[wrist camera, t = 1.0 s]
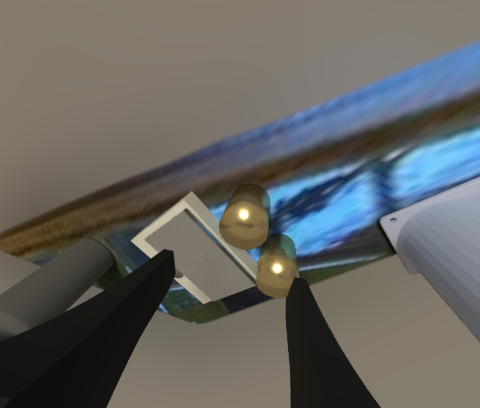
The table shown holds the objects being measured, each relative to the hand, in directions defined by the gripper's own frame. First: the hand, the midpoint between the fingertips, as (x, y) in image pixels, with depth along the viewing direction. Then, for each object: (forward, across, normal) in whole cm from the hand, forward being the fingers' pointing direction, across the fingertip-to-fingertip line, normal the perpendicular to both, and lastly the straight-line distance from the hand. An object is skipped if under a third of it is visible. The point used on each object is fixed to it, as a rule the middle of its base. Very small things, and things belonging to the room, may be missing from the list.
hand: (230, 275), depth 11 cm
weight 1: (+9, 0, 0) cm, 9 cm away
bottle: (+10, +22, +13) cm, 27 cm away
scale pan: (+7, +4, +7) cm, 11 cm away
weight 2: (+9, -4, +5) cm, 11 cm away
